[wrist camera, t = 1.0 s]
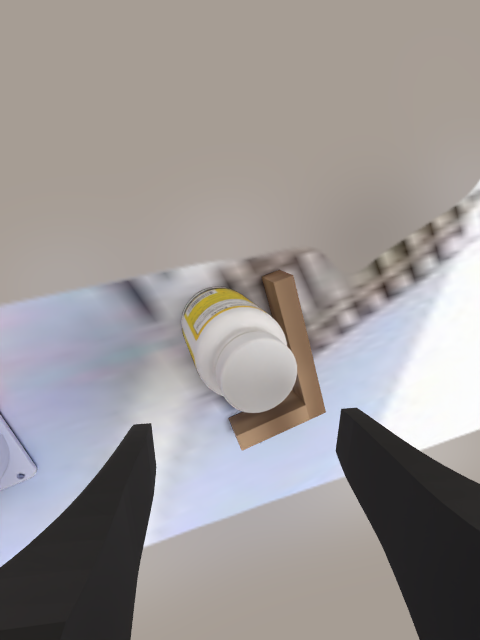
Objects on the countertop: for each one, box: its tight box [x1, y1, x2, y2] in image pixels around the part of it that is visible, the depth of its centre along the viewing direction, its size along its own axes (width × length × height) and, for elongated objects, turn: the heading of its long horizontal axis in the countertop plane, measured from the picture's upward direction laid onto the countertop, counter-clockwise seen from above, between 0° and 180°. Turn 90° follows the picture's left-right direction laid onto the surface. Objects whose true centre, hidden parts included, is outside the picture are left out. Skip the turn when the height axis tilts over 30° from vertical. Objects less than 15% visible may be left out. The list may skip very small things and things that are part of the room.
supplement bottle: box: [181, 287, 297, 413], centre depth 21 cm, size 5×5×10 cm
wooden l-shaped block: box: [229, 270, 326, 450], centre depth 26 cm, size 8×12×2 cm, turn 17°
